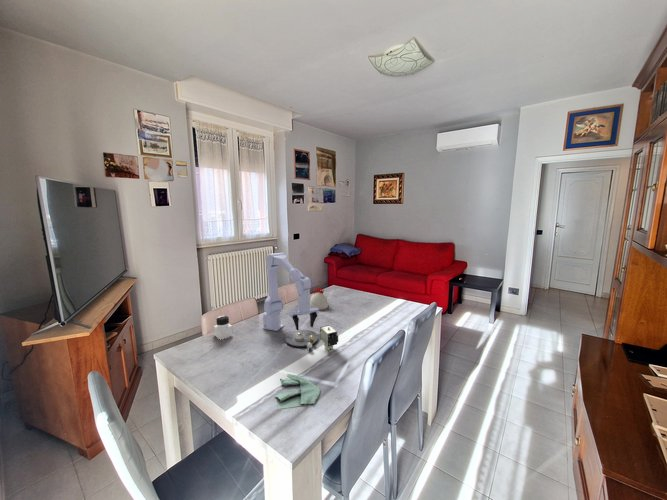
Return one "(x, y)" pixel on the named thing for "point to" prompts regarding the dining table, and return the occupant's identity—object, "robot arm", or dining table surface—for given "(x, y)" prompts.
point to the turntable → (308, 337)
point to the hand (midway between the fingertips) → (304, 328)
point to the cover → (299, 336)
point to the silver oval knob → (309, 346)
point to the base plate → (303, 347)
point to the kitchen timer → (318, 300)
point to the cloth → (298, 393)
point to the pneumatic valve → (328, 337)
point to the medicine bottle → (223, 328)
